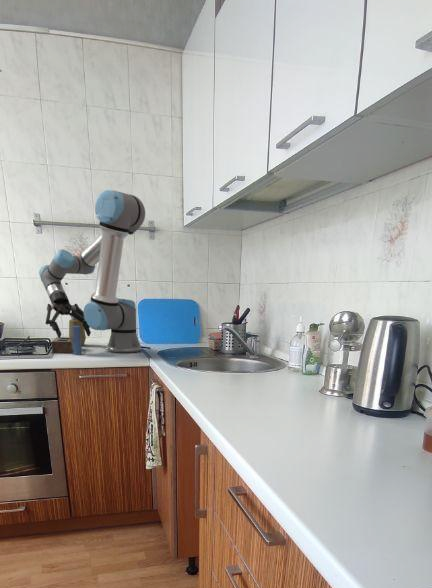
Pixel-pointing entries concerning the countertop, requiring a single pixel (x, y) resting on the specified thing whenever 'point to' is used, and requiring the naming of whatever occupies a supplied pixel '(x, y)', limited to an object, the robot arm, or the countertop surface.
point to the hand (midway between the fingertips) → (75, 335)
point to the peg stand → (62, 345)
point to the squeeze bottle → (77, 323)
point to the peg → (76, 340)
